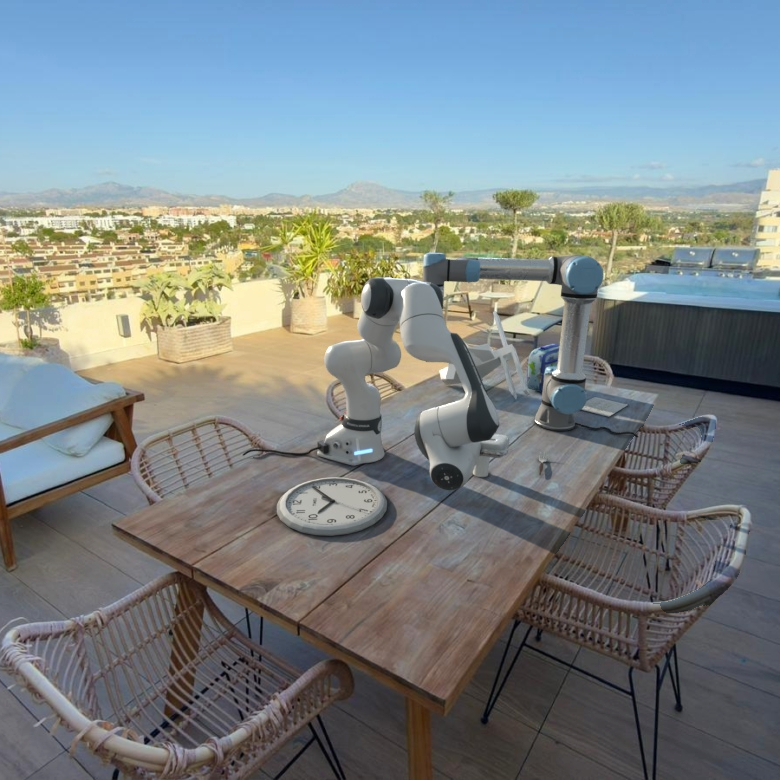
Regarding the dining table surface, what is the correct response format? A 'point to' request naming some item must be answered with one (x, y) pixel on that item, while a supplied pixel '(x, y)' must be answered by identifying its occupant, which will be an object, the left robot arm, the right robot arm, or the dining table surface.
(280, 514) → the wall clock
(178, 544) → the dining table surface
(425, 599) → the dining table surface
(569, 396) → the right robot arm
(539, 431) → the dining table surface
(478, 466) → the white plastic cylinder
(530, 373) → the lunch box
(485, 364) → the white plastic object
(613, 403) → the invitation card
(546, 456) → the fork
